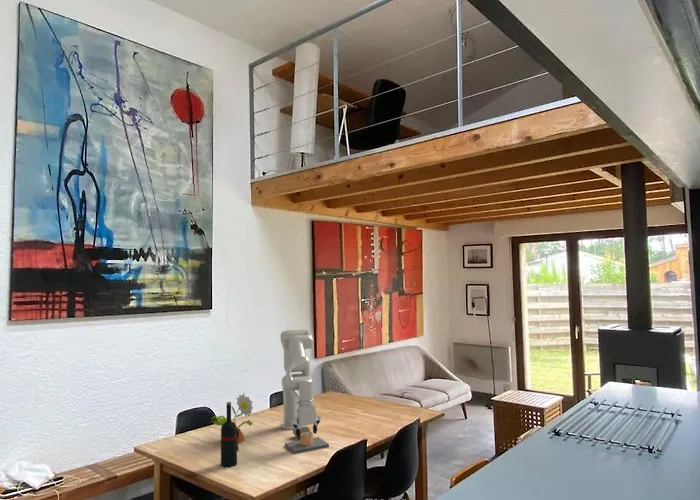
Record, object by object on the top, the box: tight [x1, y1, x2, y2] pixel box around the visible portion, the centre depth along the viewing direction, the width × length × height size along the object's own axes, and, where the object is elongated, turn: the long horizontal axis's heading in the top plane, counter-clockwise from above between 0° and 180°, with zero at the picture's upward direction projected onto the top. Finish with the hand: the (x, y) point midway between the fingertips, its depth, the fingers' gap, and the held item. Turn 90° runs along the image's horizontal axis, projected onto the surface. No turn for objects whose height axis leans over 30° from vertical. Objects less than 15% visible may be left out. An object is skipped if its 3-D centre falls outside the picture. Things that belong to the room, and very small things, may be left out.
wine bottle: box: [220, 401, 240, 468], centre depth 238 cm, size 8×10×30 cm
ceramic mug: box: [292, 423, 314, 439], centre depth 277 cm, size 11×8×8 cm
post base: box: [284, 432, 330, 455], centre depth 260 cm, size 14×20×7 cm
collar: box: [300, 432, 314, 446], centre depth 260 cm, size 6×6×5 cm
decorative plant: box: [210, 392, 254, 444], centre depth 272 cm, size 27×24×25 cm
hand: (306, 434), depth 260 cm, fingers open, 9 cm apart
